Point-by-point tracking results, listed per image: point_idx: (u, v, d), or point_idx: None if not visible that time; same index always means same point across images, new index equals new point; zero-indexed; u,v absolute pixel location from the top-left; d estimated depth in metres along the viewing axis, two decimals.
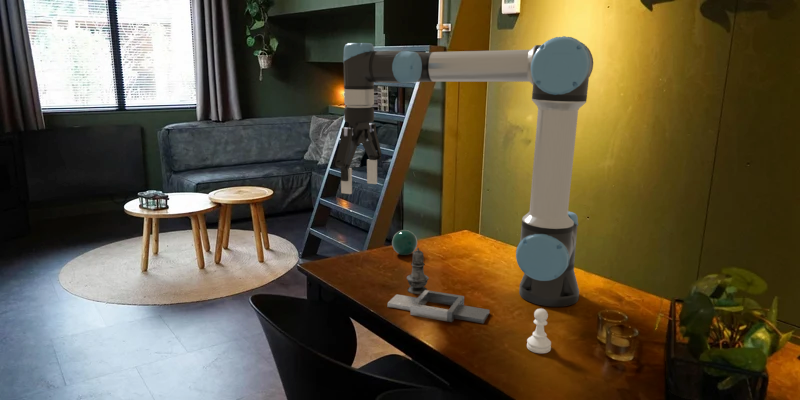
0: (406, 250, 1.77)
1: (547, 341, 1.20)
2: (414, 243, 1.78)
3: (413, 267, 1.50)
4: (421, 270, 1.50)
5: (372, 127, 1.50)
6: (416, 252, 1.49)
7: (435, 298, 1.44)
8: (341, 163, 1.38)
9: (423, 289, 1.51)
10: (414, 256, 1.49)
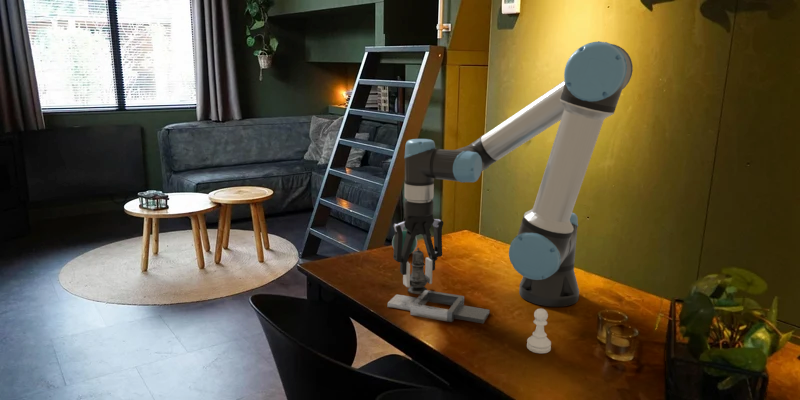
0: None
1: (547, 341, 1.20)
2: (414, 243, 1.78)
3: (413, 267, 1.50)
4: (421, 270, 1.50)
5: (438, 223, 1.50)
6: (416, 252, 1.49)
7: (435, 298, 1.44)
8: (396, 258, 1.47)
9: (423, 289, 1.51)
10: (414, 256, 1.49)
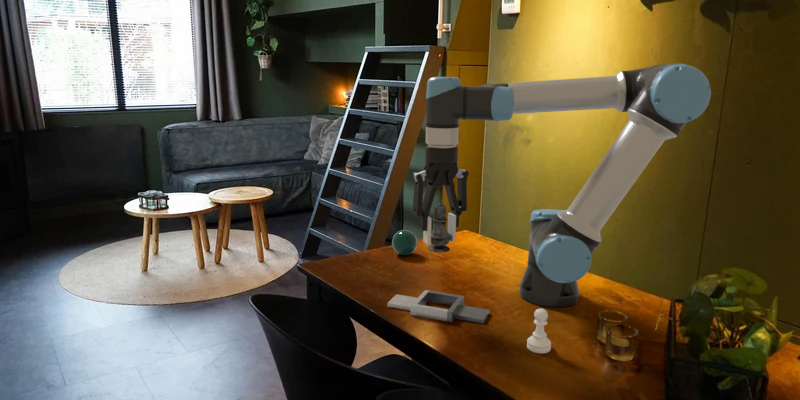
0: (406, 250, 1.77)
1: (547, 341, 1.20)
2: (414, 243, 1.78)
3: (435, 222, 1.34)
4: (443, 226, 1.34)
5: (463, 173, 1.34)
6: (438, 205, 1.33)
7: (435, 298, 1.44)
8: (416, 211, 1.31)
9: (445, 248, 1.35)
10: (436, 210, 1.33)
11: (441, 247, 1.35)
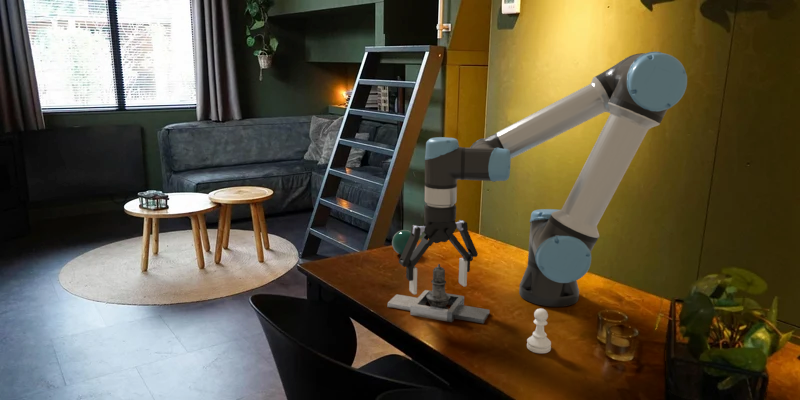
0: None
1: (547, 341, 1.20)
2: None
3: (434, 285, 1.38)
4: (442, 288, 1.38)
5: (462, 226, 1.37)
6: (437, 269, 1.37)
7: None
8: (401, 262, 1.33)
9: None
10: (435, 273, 1.37)
11: None
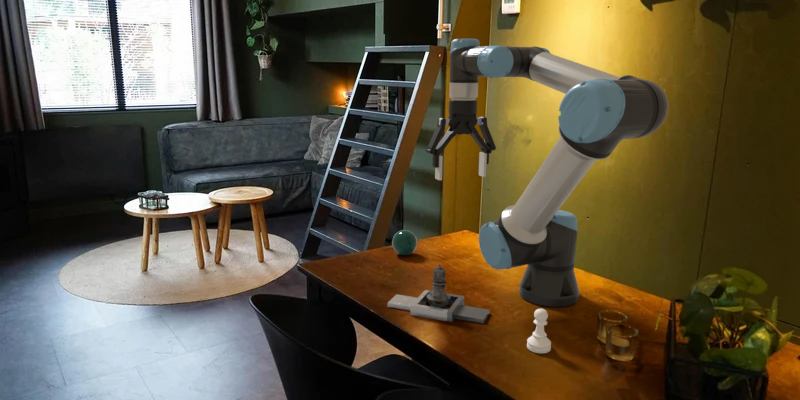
0: (406, 250, 1.77)
1: (547, 341, 1.20)
2: (414, 243, 1.78)
3: (434, 285, 1.38)
4: (443, 288, 1.38)
5: (482, 120, 1.54)
6: (437, 269, 1.37)
7: None
8: (429, 150, 1.50)
9: None
10: (435, 273, 1.37)
11: None
